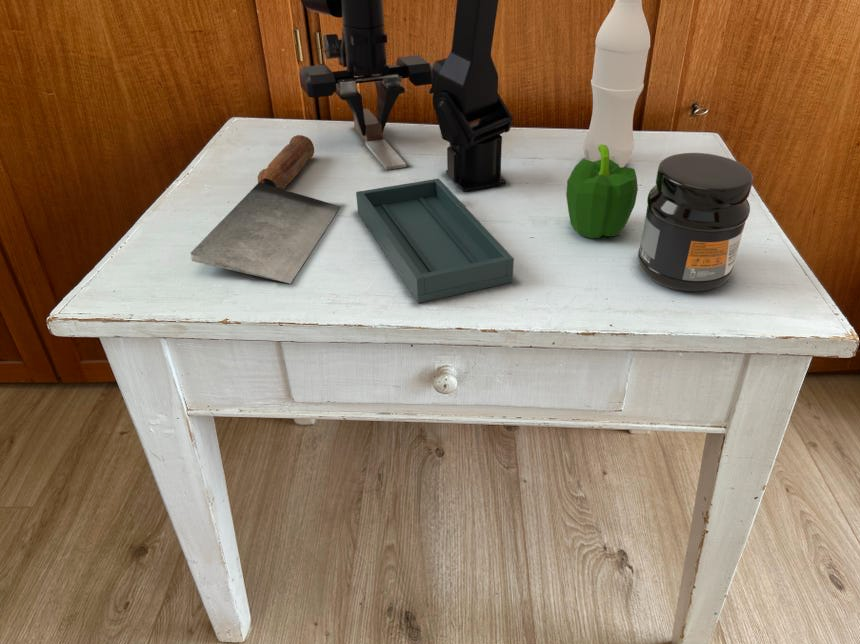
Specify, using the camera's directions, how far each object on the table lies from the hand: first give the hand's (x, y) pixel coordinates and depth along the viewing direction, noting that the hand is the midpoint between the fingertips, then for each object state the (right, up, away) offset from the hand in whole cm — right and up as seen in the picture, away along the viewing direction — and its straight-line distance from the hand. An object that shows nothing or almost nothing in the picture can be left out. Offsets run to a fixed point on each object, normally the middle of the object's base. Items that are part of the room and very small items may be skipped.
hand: (371, 133), depth 108 cm
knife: (+1, -3, -2) cm, 3 cm away
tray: (+11, -21, -25) cm, 34 cm away
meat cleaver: (-7, -16, -18) cm, 25 cm away
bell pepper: (+31, -19, -21) cm, 42 cm away
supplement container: (+40, -25, -28) cm, 54 cm away
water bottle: (+35, -6, -5) cm, 36 cm away
